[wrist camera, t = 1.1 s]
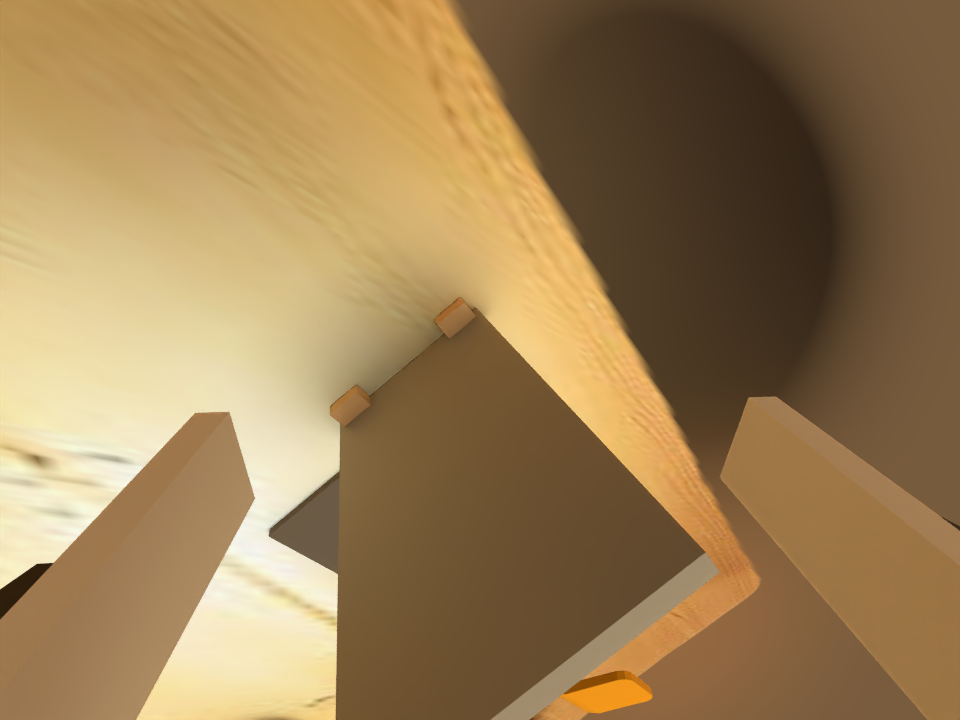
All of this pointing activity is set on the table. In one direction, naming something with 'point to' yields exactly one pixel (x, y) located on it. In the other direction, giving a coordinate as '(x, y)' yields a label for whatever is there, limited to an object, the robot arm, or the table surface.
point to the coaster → (314, 526)
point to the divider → (488, 539)
